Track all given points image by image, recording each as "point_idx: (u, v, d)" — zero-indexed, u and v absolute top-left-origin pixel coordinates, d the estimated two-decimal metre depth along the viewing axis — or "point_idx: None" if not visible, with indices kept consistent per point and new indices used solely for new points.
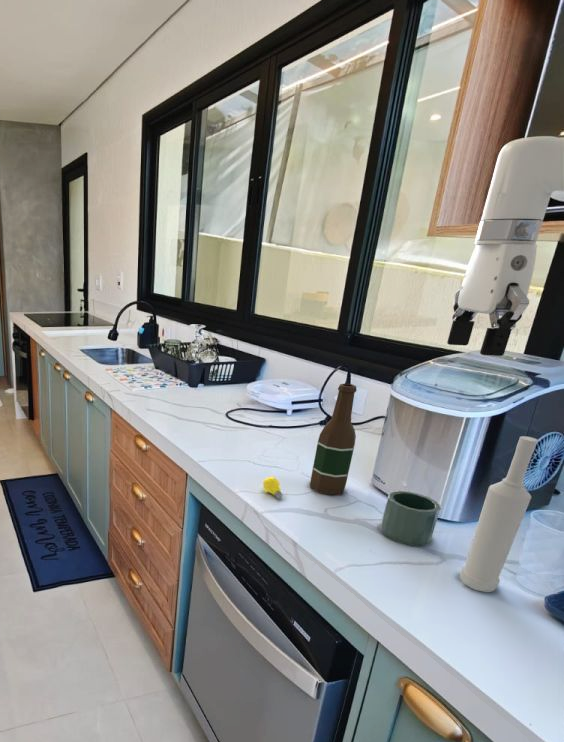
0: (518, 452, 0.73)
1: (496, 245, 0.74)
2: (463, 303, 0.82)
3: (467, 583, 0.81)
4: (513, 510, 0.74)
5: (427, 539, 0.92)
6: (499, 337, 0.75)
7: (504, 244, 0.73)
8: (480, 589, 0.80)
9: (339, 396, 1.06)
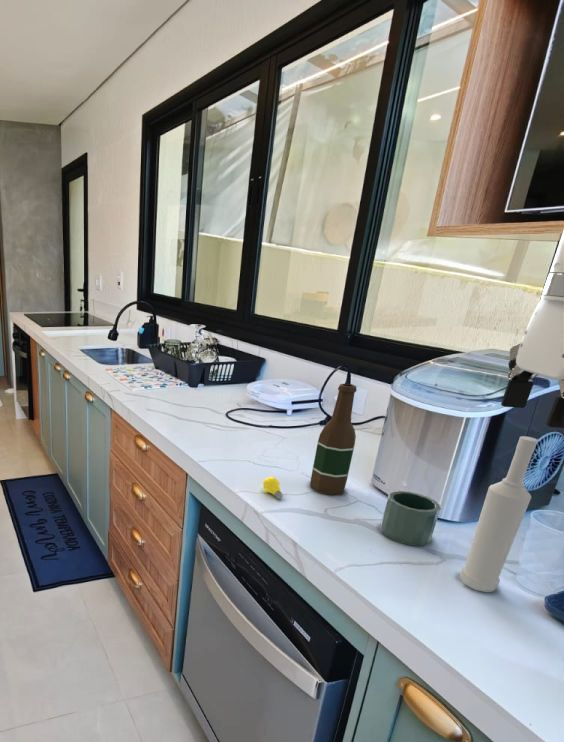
0: (518, 452, 0.73)
1: None
2: (523, 363, 0.71)
3: (467, 583, 0.81)
4: (513, 510, 0.74)
5: (427, 539, 0.92)
6: None
7: None
8: (480, 589, 0.80)
9: (339, 396, 1.06)
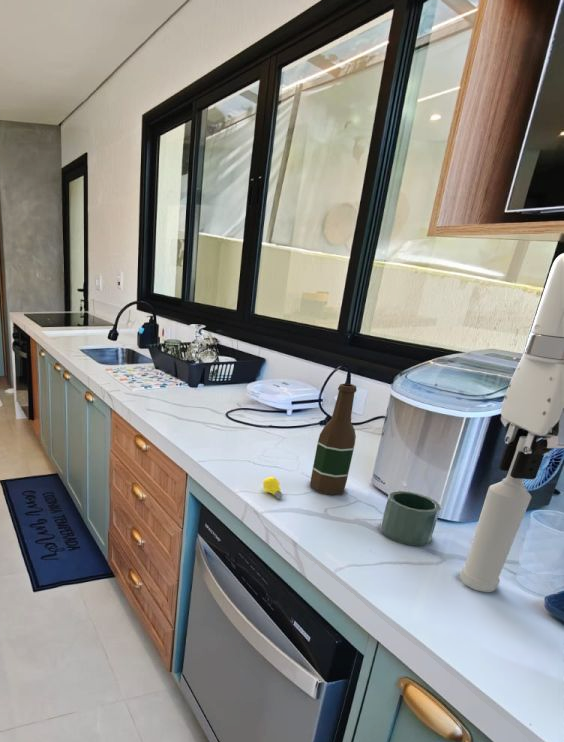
0: None
1: (549, 363, 0.66)
2: (508, 415, 0.74)
3: (467, 583, 0.81)
4: (514, 510, 0.74)
5: (427, 539, 0.92)
6: (531, 462, 0.71)
7: (559, 364, 0.65)
8: (480, 589, 0.80)
9: (339, 396, 1.06)
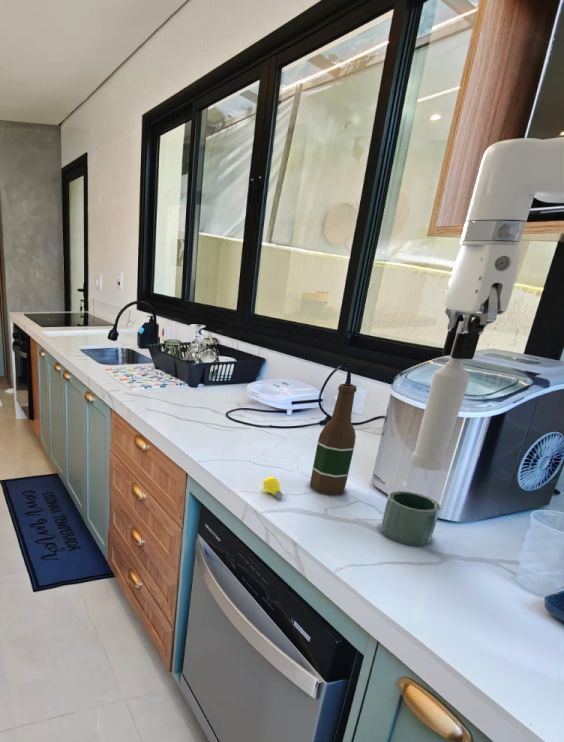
0: None
1: (480, 246, 0.75)
2: (449, 303, 0.82)
3: (416, 464, 0.89)
4: (454, 388, 0.82)
5: (427, 539, 0.92)
6: (468, 342, 0.80)
7: (488, 245, 0.74)
8: (427, 468, 0.88)
9: (339, 396, 1.06)
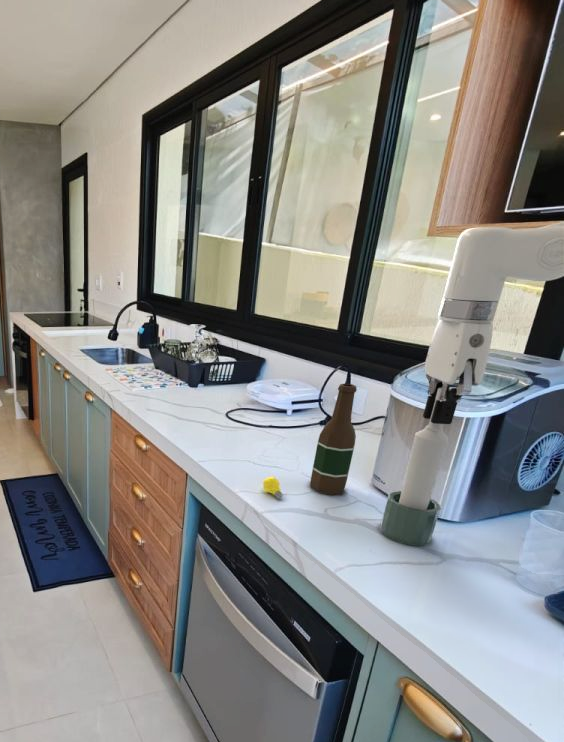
0: None
1: (456, 323, 0.80)
2: (429, 370, 0.87)
3: None
4: (434, 451, 0.87)
5: (427, 539, 0.92)
6: (446, 409, 0.85)
7: (463, 323, 0.78)
8: None
9: (339, 396, 1.06)
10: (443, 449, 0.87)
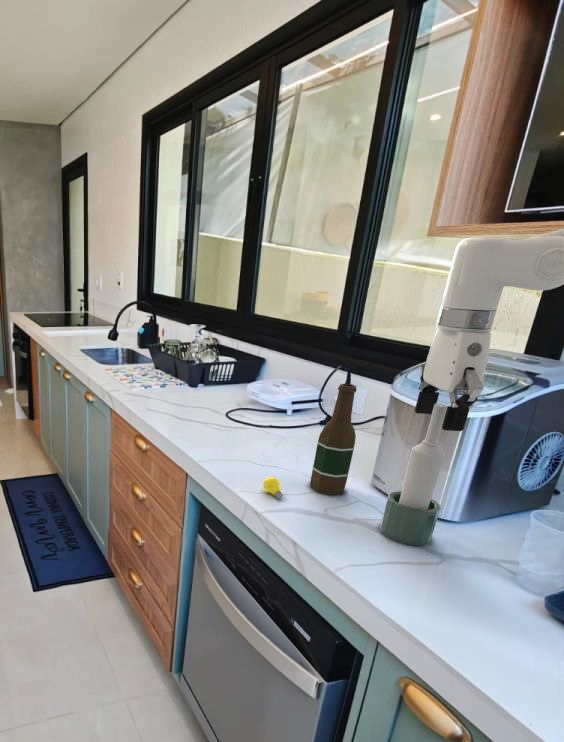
0: (433, 417, 0.87)
1: (454, 331, 0.80)
2: (427, 378, 0.88)
3: None
4: (430, 466, 0.88)
5: (427, 539, 0.92)
6: (458, 415, 0.81)
7: (461, 332, 0.79)
8: None
9: (339, 396, 1.06)
10: (439, 464, 0.88)
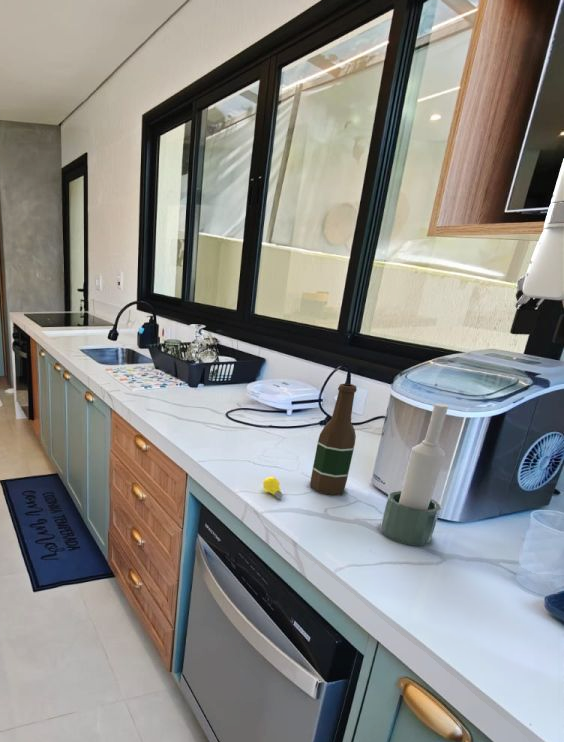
0: (433, 417, 0.87)
1: None
2: (530, 290, 0.78)
3: None
4: (430, 466, 0.88)
5: (427, 539, 0.92)
6: None
7: None
8: None
9: (339, 396, 1.06)
10: (439, 464, 0.88)
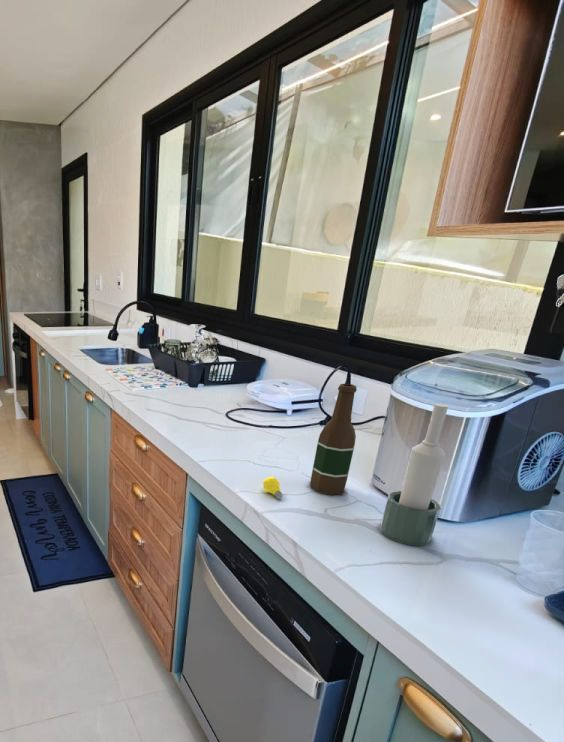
0: (433, 417, 0.87)
1: None
2: None
3: None
4: (430, 466, 0.88)
5: (427, 539, 0.92)
6: None
7: None
8: None
9: (339, 396, 1.06)
10: (439, 464, 0.88)
